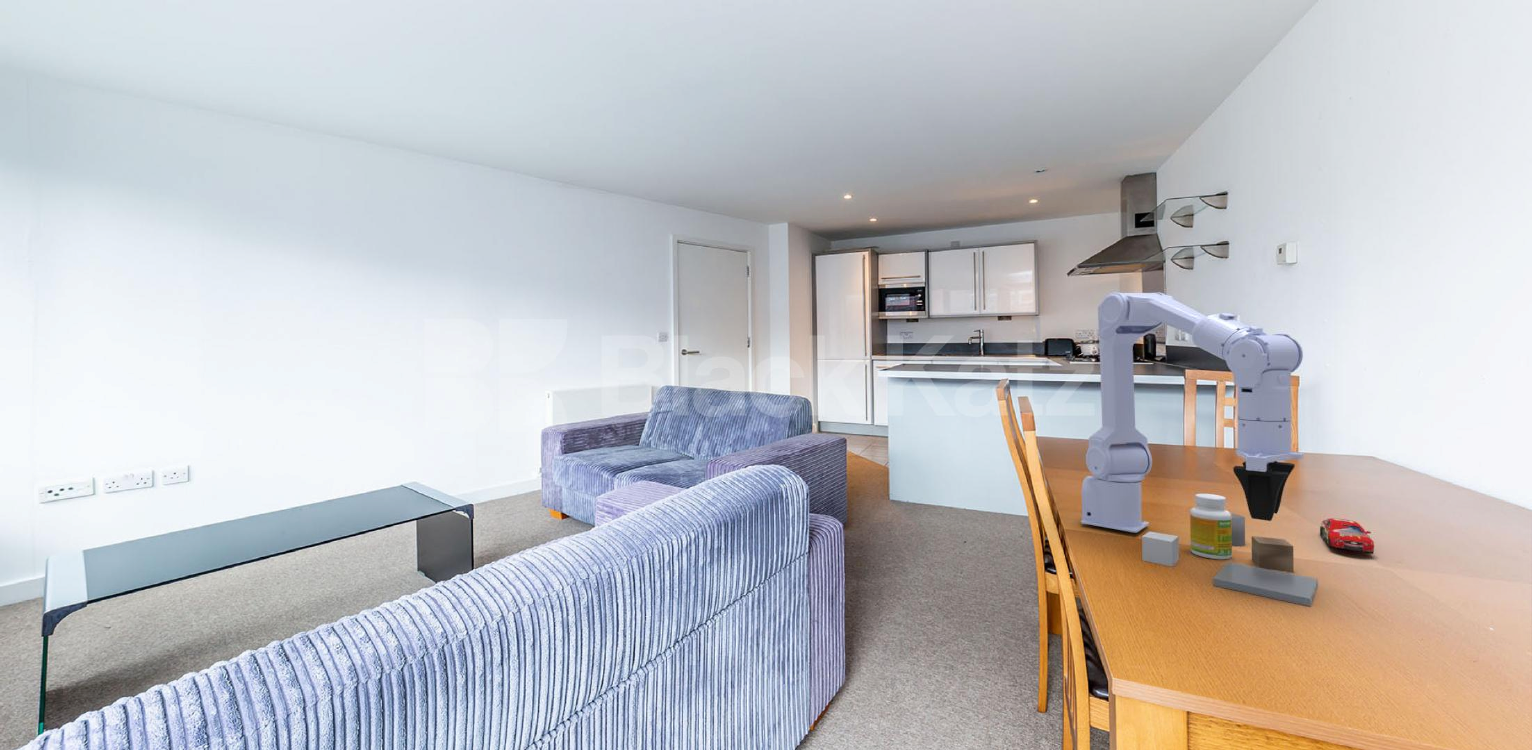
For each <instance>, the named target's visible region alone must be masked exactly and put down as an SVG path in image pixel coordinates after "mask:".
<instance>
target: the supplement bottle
mask: <svg viewBox="0 0 1532 750" xmlns="http://www.w3.org/2000/svg"><path fill="white" fill-rule="evenodd" d="M1194 497H1195V498H1194V503H1195V504H1196V506H1194V507H1192V508H1190V511H1189V512H1190V513H1189V515H1190V516H1189V522H1190V524H1189V525H1190V526H1189V527H1190V532H1189V533H1190V534H1189V536H1190V541H1189V542H1190V545H1189V546H1190V552H1192V554H1194V555H1196V556H1199V557H1202V558H1207V559H1212V560H1229V559H1231V558H1232V557H1233V554H1232V553H1233V552H1232V551H1233V549H1232V548H1233V546H1232V518H1231V514H1232V513H1231V512H1230V511H1228V510H1227V509H1225V507H1227V506H1226V505H1227V499H1226V497H1225V496H1223V495H1219V494H1218V495H1217V494H1214V493H1213V494H1210V493H1196V494H1195V496H1194Z"/></svg>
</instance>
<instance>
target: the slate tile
mask: <svg viewBox="0 0 1532 750" xmlns="http://www.w3.org/2000/svg"><path fill="white" fill-rule="evenodd" d="M1318 581H1319V580H1318V578H1316V577H1310V576H1304V575H1300V574H1299V575H1298V574H1295V573H1291V572H1285V571H1278V570H1269V569H1263V568H1259V567H1258V566H1257V567H1256V566H1253V565H1247V564H1242V563H1237V562H1231V561H1227V562H1226V563H1225V564H1224V565H1223V566H1222V568H1221V569H1220V570H1219V571H1218V572H1217V573H1216V575H1215V576H1213V581H1212V582H1213V583H1212V584H1213V586H1215V587H1218V588H1222V589H1223V588H1224V589H1229V590H1234V591H1238V592H1243V593H1246V594H1251V595H1256V596H1260V597H1266V598H1271V599H1274V600H1279V601H1284V602H1289V603H1292V604H1293V603H1294V604H1297V605H1303V606H1306V607H1311V605H1312V603H1313V600H1314V597H1315V594H1316V592H1317V589H1318V585H1319V584H1318Z"/></svg>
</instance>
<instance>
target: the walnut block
mask: <svg viewBox="0 0 1532 750" xmlns="http://www.w3.org/2000/svg"><path fill="white" fill-rule="evenodd" d="M1251 561H1252V563H1254V564H1255V566H1257V567H1258V568H1263V569H1269V570H1274V571H1279V572H1285V573H1294V572H1295V571H1294V570H1295V569H1294V563H1295V562H1294V546H1293V545H1292V544H1291V543H1290V542H1289V541H1287V540H1286V539H1285V538H1276V537H1275V538H1274V537H1265V536H1255V535H1251Z"/></svg>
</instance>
